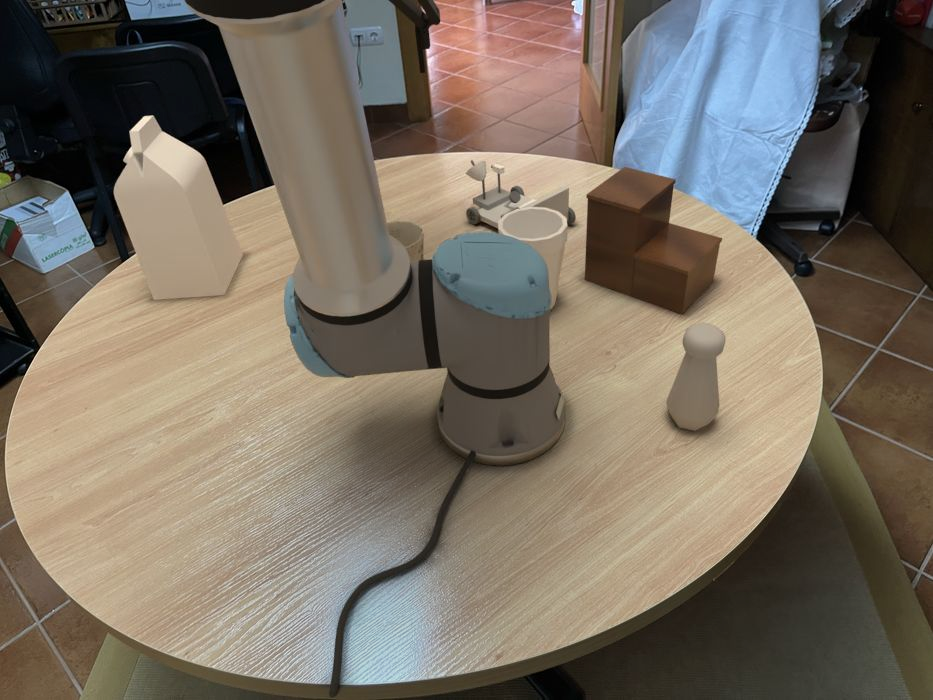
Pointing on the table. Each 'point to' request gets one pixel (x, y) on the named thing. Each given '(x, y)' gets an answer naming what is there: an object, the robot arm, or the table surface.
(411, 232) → the mug
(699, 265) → the step shelf
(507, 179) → the table surface
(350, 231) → the robot arm
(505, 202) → the grey wheeled model
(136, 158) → the milk
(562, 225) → the foam cup
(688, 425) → the salt shaker
